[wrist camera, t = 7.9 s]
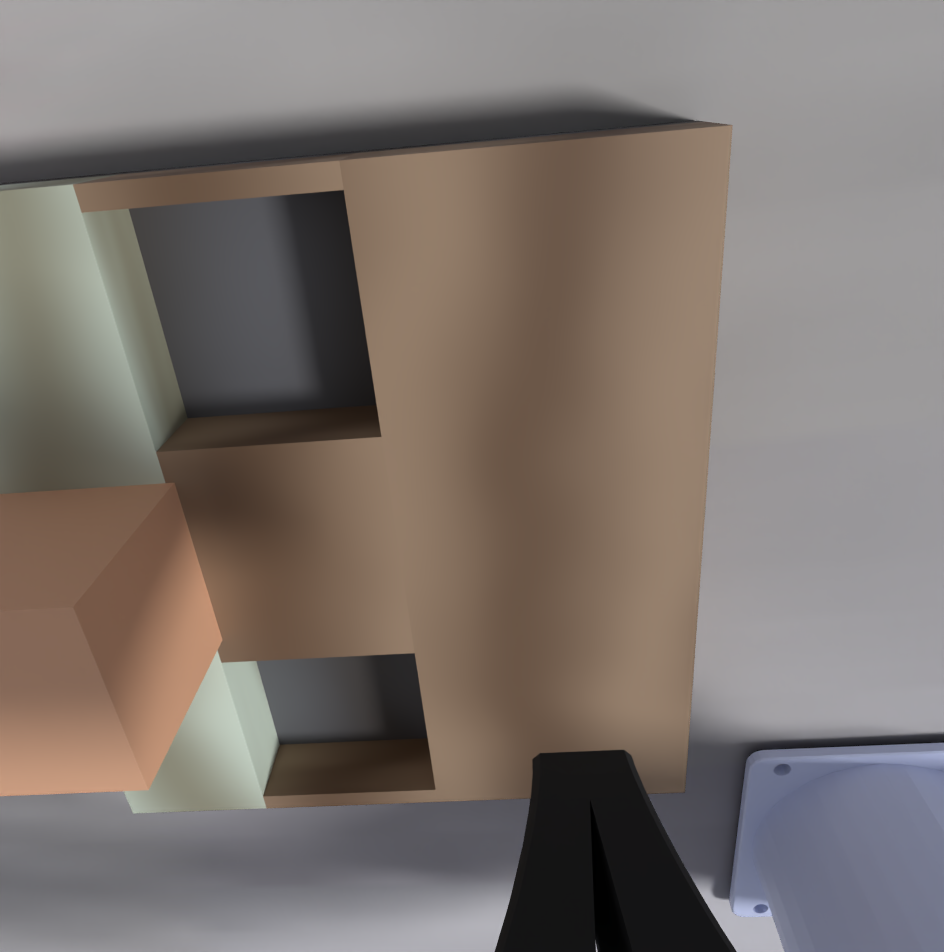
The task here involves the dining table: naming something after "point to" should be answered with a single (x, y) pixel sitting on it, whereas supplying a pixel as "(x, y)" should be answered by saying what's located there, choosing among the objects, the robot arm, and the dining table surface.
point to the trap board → (395, 444)
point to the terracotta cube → (97, 636)
